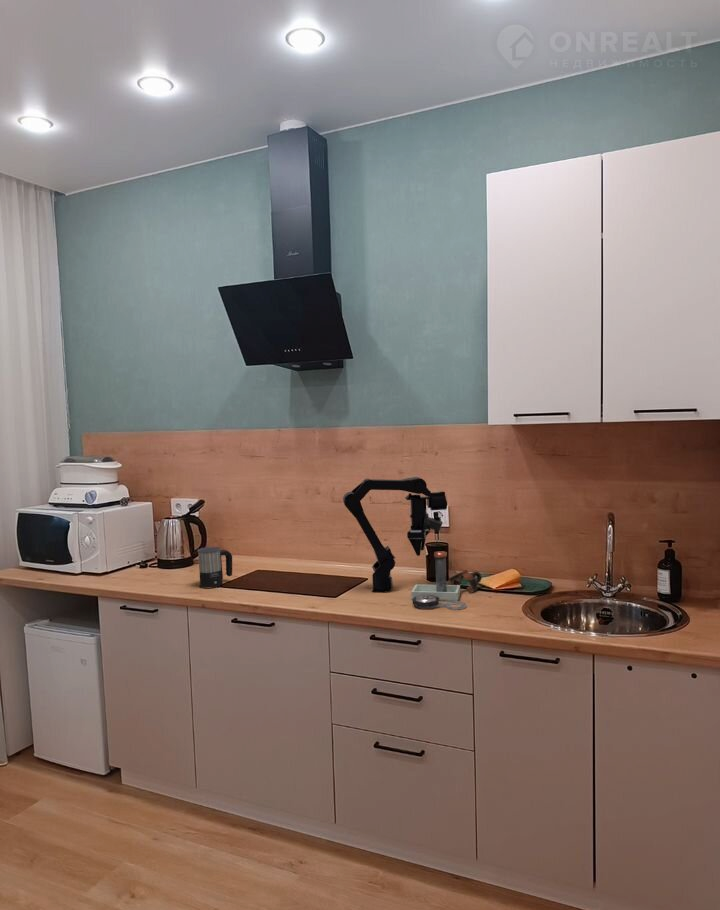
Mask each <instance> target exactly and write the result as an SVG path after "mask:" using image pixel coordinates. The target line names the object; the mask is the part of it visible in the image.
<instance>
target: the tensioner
mask: <svg viewBox="0 0 720 910" xmlns="http://www.w3.org/2000/svg"><path fill="white" fill-rule="evenodd" d="M411 601H412V605H414V606H415V608H418V609H423V610H428V609H434V608H445V609H447V610H452V611H455V610H457V611H460V610H463V609H466V608H467V603H466V602H463V601H459V600H458V601H447V602H440V601H439V597H436V596H433V595H421V596H417V597H414V598H413V600H411ZM452 605H459V606H452Z"/></svg>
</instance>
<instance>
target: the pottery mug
mask: <svg viewBox="0 0 720 910" xmlns="http://www.w3.org/2000/svg"><path fill="white" fill-rule="evenodd" d="M475 577H476V578H475ZM463 578H464V580H465V581H467V582H469V584H470V585H469V586H467V587H466V590H467V591H468V594H472V593H474V592H476V591H478V590H479V589H478V585H479V584H480V583H481V581H482V574H481V573H480V571H473V572H471V573H470V572H468V570H467V569H465V570H462V571H461V572H459V573H456V574H455V575H453V576H451V577H450V578H449V580H450V584H449V585H460V584H461V585H462V583H461V582H462V579H463ZM479 582H480V583H479ZM478 583H479V584H478Z"/></svg>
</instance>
